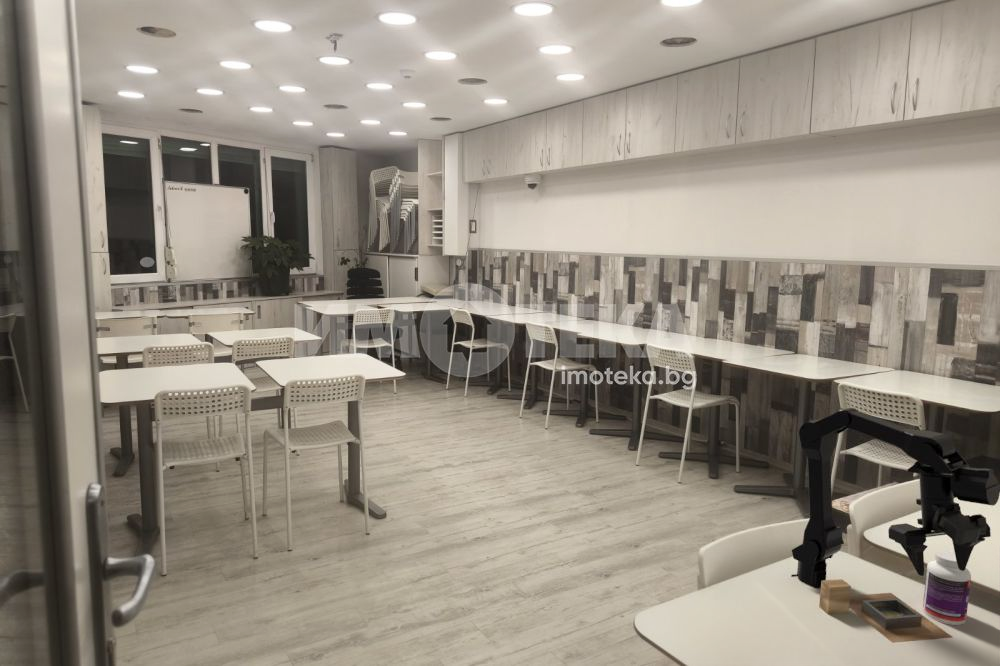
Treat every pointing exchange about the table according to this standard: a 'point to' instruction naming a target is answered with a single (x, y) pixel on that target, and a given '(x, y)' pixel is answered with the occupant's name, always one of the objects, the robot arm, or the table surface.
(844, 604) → the tan wooden brick
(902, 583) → the table surface
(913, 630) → the board
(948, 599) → the pill bottle
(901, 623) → the tin
